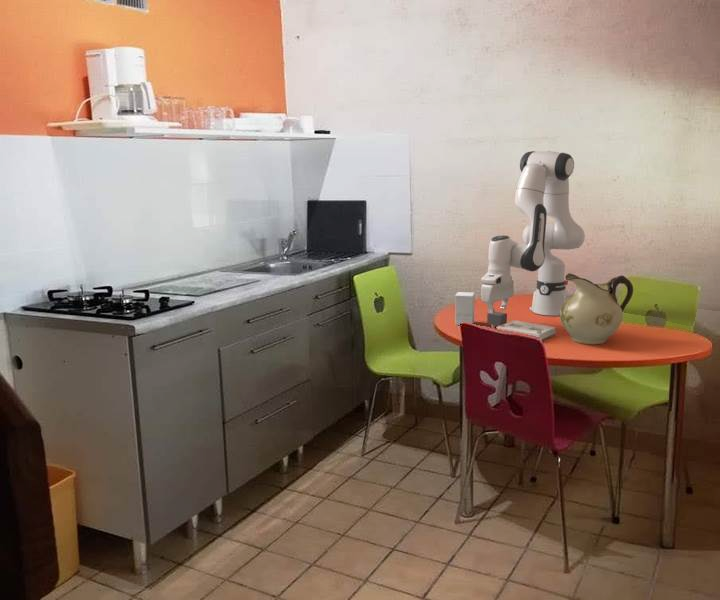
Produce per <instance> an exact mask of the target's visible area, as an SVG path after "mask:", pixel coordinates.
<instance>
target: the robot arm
mask: <svg viewBox="0 0 720 600" xmlns="http://www.w3.org/2000/svg"><path fill="white" fill-rule="evenodd" d="M519 169H520V172H521V173H520V177H519V179H518V182H517V186H516V190H515V195H514V205H515V206H516V208H517V209H518V211H519V212H521V213H522V214H524V215H525V216H526V217H527V218H528V219H529V221H530V224H527V225H526V226H525V227H524V228H523V232H522V234H521V235H522V238H521V239H522V241H523V243H518V242H517V241H514V240H513V239H511V237H510V236H508V235H497V236H496V235H495V236H494V237H492V238H491V239H490V241H489V246H488V251H487V252H488V254H487V259H488V266H487V272H486V273H485V274H484V275H483V276H482V277H481V279H480V283H481V288H480V289H481V290H480V300H481V302H482V303H484V304H486V305H487V307H488V313H494V311H495V308H494V305H495V304H494V303H495V302H499V301H501V304H500V310H503V311H504V310H506V309H507V305H508V302H509V299H510V298H513V297H514V295H515V285H514V284H515V283H514V279H513V277H512V276H511V267H513V268H517V269H521V270H526V271H528V272H531V273H532V272H535V271H537V280H536V290H535V291H533V297H532V305H531V306H529V310H530V311H531V312H532V313H533V314H537V315H543V316H550V317H551V316H554V317H555V316H560V308H561V306H562V304H563V303H564V301H565V300H566V299H567V298H568V297H569V296H571V295H572V294H570V293H569V291H568V290H567V286H568V284H569V281H568V280H566V279H565V270H566V269H565V268H566V265H565V262H564V260H562V259H560V258H559V257H557V256H555V255H554V254H553V253H552V251H551V250H563V251H564V250H568V251H569V250H575V249H580V247H581V246H582V245H583V244H584V242H585V239H586V234H585V231H584V229H583V228H582V227H581V226H580V225H579V224H578V223H577V222H575V220H574V219H573V217H572V215H571V212H570V206H569V204H570V203H569V202H570V201H569V200H570V198H569V196H570V195H569V194H570V183H569V182H570V180H569V178H570V176H571V175H572V174H573V172H574V169H575V161H574V159H573V157H572V155H571V154H570V153H565V152H558V151H557V152H556V151H550V150H548V151H547V150H545V151H543V150H542V151H534V150H533V151H527V152H525V153H524V154H523V155H522V157H521V158H520V162H519ZM547 216H548V217H550V218H552V219H554V223H547Z"/></svg>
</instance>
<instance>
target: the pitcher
mask: <svg viewBox="0 0 720 600" xmlns="http://www.w3.org/2000/svg"><path fill="white" fill-rule="evenodd" d="M564 279H565V280H568V282H572V283H574V284H575V287H576V288H575V290H574V292H573V293H572V294H570V295H571V296H569V297H568V298H567V299H566V300H565V301H564V303H563V304H562V306H561V308H560V315H559V320H560V322H561V325H562V327H563V328H564V330H565V332H567V333H568V335H570V336H571V340H572V342H575V343H579V344H582V345H601V344H605V343H606V342H607V339H609V338H610V337H612V336H613V334H615V333H616V332H617V330H619V328H620V326H621V325H622V322H623V316H624V314H623V313H624V310H625V309H626V307H627V305H628V304H629V302H630V301H631V298H632V297H633V294H634V286H633V283H632V282H631V280H630V279H628V278H627V277H626V276H624V275H618V276H616V277H613V278H610V279H609V280H608V281H607V282H606V283H601V284H599V283H598V284H597V283H593V281H590V280H589V279H586V278H582V277H579V276H578V275H576V274H573V273H569V272H568V273H566V275H565V276H564ZM620 284H621V285H624V286H625V287H626V289H627V290H626V291H627V292H626V295H625V297H624V299H623V301H622V303H621V304H619V303H618V299H617V295H616V293H617V291H616V290H617V287H618V286H619V285H620Z"/></svg>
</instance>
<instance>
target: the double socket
mask: <svg viewBox="0 0 720 600" xmlns="http://www.w3.org/2000/svg"><path fill="white" fill-rule="evenodd" d="M495 328H497V329H502V330H508V331H514V332H519V333H524V334H528V335H533V336H536V337H539V338H541V339H542V340H543V341H545V340H547V339H550V338H551V337H554V336H556V330H557V329H556V327H555V326H549V325H543V324H539V323H534V322H532V323H531V322H526V321H521V320H515V319H514V320H511V321H507V323H506V324H502V325H500V326H499V325H497V327H495Z"/></svg>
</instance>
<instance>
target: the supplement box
mask: <svg viewBox="0 0 720 600" xmlns="http://www.w3.org/2000/svg"><path fill="white" fill-rule="evenodd" d="M475 295H476V293H475V292H469V291H466V292H465V291H457V292H456V294H455V295H454V299H455V300H454V301H455V302H454V303H455V305H454V309H455V311H454V313H455V314H454V325H455V326H461V325H460V323H462V322H468V323H473V324H474V323H475V306H476V305H475V303H476V302H475Z"/></svg>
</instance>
